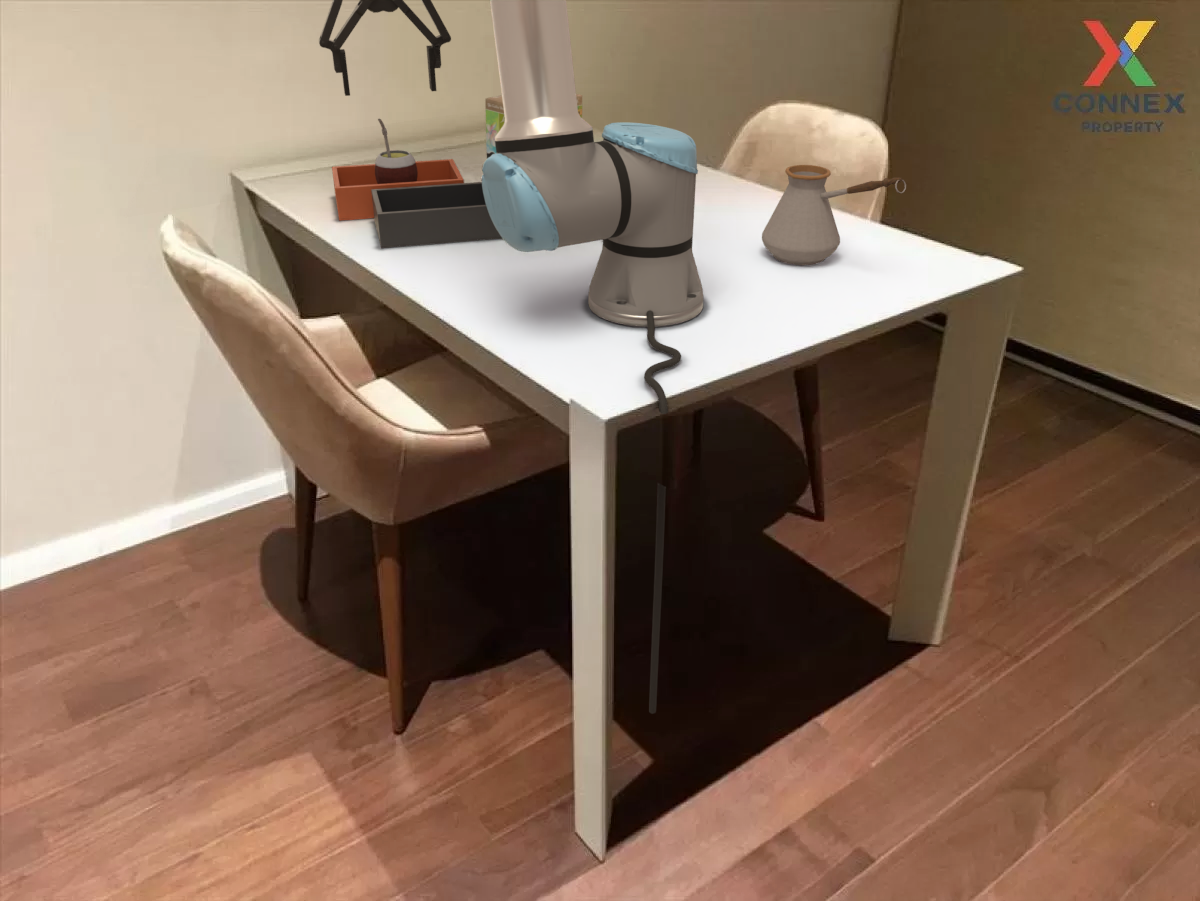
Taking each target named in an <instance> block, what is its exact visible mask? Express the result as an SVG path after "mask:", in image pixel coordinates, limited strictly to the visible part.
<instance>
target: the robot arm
mask: <svg viewBox="0 0 1200 901" xmlns="http://www.w3.org/2000/svg"><path fill="white" fill-rule="evenodd" d="M420 1H421V3H422V5H423V6H424V8H425V10H426V13H428V15H429V17H430V19H431V21H432V22H433V24H434V26H435V28H436V30H437V32H438V34H439V35H437V36H436V35H435V34H434V33H433V32H432V31H431V29H429V27H428V26H427V25H425V23H424V22H423V21H422V19H420V18H419V17H418V15H417V14H416V13H415V12H414V11H413V9H412V8H410V6H409V5H408V4H407V3H406V2H405V1H404V0H359V1H357V2H358V3H357V4H356V5H355V7H354V9H353V10H352V12H351V13H350V15H349V17H347V19H346V21H345V22H344V24H343V25H342V27H341V28H340V30H339V31H338V33H336V36H335V37H334V38H333V40H332V39H330V38H331V36H332V33H333V30H334V27H335V24H336V21H337V19H338V16H339V13H340V10H341V7H342V4H343V0H332V1H331V3H330V7H329V10H328V12H327V16H326V19H325V20H324V21H325V22H324V24H323V27H322V29H321V33H320V36H319V38H318V43H319V47H321V48H324V49H328V50H330V52H331V54H332V63H333V69H334V71H335V73H336V74H341V76H342V83H343V93H344V96H346V97H347V96H348V97H349V96H351V91H350V90H351V89H350V83H349V74H348V64H347V56H346V50H345V49H344V48H342V47H343V46H344V44H345V42H346V41H347V40H348V38H349V36H350V35H351V33H352V32H353V31H354V29H355V27H356V26H357V24H358V23H359V22H360V20H361V19H362V17H363V16H364V15H365V13H366V12H367V10H368V11H369V12H372V13H374V14H376V13H381V12H386V13H394V12H395V11H397V10H398V9H399V10H400V11H401V12H402V13H403V14H404V15H405V17H406V18H407V19H408V20H409V21H410V22H411V23H412V24H413V25H414V26H415V28H417V30H418V31H419V32H420V33H421V34H422V35H423V36H424V37H425V38H426V40H427V41H428V42H429V43H430V45H425V46H426V58H427V69H428V70H427V71H428V84H429V85H428V86H429V89H430V91H431V92H437V80H436V78H437V77H436V69H441V67H442V57H441V56H442V55H441V47H442V46H443V45H445V44H446V43H450V42H451V41H452V37H451V35H450V34H451V33H450V32H449V31H448V29H447V27H446V26H445V24H444V22H443V20H442V18H441V16H440V15H439V13H438V11H437V9H436V7H435V5H434V3H433V1H432V0H420ZM489 4H490V14H491V20H492V28H493V36H494V43H495V44H494V45H495V52H496V59H497V66H498V75H499V76H498V77H499V82H500V92H501V95H502V99H503V107H504V115H505V122H504V125H503V127H502V128H501V129H500V131H499V132H498V134H497V135H496V136H495V146H496V154H493V155H491V156H490V157H489V158H487V157H486V159H485V160H484V162H483V165H482V168H481V171H482V175H481V182H482V189H483V194H484V199H485V203H486V206H487V209H488V212H489V215H490V217H491V220H492V222H493V224H494V226H495V228H496V229H497V231H498V232H499V234H500V235H501V237H502V238H503V241H504V242H505V243H506V244H507V245H508V246H509V247H511V248H512V249H514V250H515V251H518V252H520V253H521V252H522V253H533V252H541V251H548V252H552V251H555V250H556V249H557V248H564V247H568V246H575V245H581V244H585V243H592V242H597V241H602V245H601V251H600V254H599V258H598V260H597V263H596V267H595V269H594V272H593V276H592V278H591V281H590V284H589V288H588V302H587V303H588V307H589V309H590V311H591V312H592V313H593V314H594V315H596V316H597V317H600V318H601V319H603V320H606V321H608V322H612V323H614V324H615V323H616V324H619V325H623V326H630V327H642V328H645V327H646V328H647V330H646V338H647V342H648V344H649V345H650V346H651V348H653V349H654V350H656V351H659V352H661V353H664V354H667V355H670V356H671V358H668V359H666V360H662V361H660V362H658V363H657V362H656V363H655V364H652V365H651V366H649V367H648V368H647V369H646V370H645V372H644V375H643V379H644V382H645V383H646V384H647V385H648V386H649V387H650V388H651V389H652V390H653V391H654V393H655V395H656V397H657V402H658V409H659V413H660V414H661V415H667V414H668V413H669V408H668V400H667V395H666V393H665V390H664V388H663V386H662V385H661V384H660V383H659V381H658V380H656V379H655V378H654V377H653V375H655V373H658V372H660V371H663V370H667V369H669V368H671V367H675V366H676V365H678V364H679V363H680V362H681V359H682V354H681V352H680V351H679V350H678V349H677V348H675V347H671V346H668V345H666V344H663V343H661V342H659V341H658V340H657V339H656V337H655V334H656V327H667V326H672V325H677V324H681V323H684V322H687V321H689V320H692V319H693V318H696V317H697V316H699V314H700V313H701V312H702V311H703V308H704V289H703V285H702V281H701V277H700V274H699V270H698V267H697V263H696V260H695V257H694V253H693V240H694V239H693V237H694V224H695V223H694V221H695V202H696V185H697V184H696V183H697V175H698V174H699V170H698V156H697V155H698V154H697V144H696V142H695V140H694V139H693V138H692V137H691V136H690V135H688V134H687V133H685V132H683V131H680V130H678V129H675V128H671V127H666V126H662V125H656V124H649V123H644V122H643V123H641V122H627V121H626V122H625V121H624V122H623V121H622V122H620V121H619V122H611V123H609V124H606V125H604V127H603V131H602V133H601V138H602V140H600V141H595V139H594V129H593V125H591V124H590V123H589V122H588V121H586V120H585V119H584V118H583V117H582V118H581V117H580V115H579V113H578V107H577V98H576V94H577V90H576V79H575V71H574V61H573V60H574V59H573V52H572V51H573V50H572V42H571V34H570V23H569V14H568V2H567V0H489ZM666 489H667V486H665V485H664V484H661V483H659V482H657V492H656V525H655V526H656V527H655V531H656V532H655V553H654V578H653V601H652V627H651V649H650V674H649V675H650V676H649V699H648V712H649V713H650V714H651V715H653V714H656V713H657V697H658V678H659V676H658V673H659V657H660V656H659V654H660V633H661V632H660V631H661V612H662V611H661V610H662V591H663V572H664V571H663V570H664V569H663V567H664V547H665V546H664V545H665V521H666Z"/></svg>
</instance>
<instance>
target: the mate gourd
mask: <svg viewBox="0 0 1200 901" xmlns="http://www.w3.org/2000/svg"><path fill="white" fill-rule="evenodd" d="M377 121H378V123H379V125H380V126H381V133H382V136H383V140H384V145H385V151H382V152H380V153H379V154H378V155H377V157H376V159H375V162H374V164H375V177H376V181H377V184H387V183H402V182H417V175H418V171H417V165H416V162H415V161H416V159H415V158H414V156H413V155H412V153H411V152H409V151H407V150H400V149H395V150H394V149H393V150H392V149H391V150H390V144H389V138H388V130H387V128H386V126H385V124H384V122H383V120H382V119H381V118H377Z"/></svg>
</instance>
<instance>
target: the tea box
mask: <svg viewBox="0 0 1200 901" xmlns="http://www.w3.org/2000/svg"><path fill="white" fill-rule="evenodd" d="M576 98H577V107H578V113H579V115H580V117H581V118H582V119H583V95H582V94H579V93H576ZM484 101H485V102H484V104H485V106H484V107H485V145H486V146H485V148H486V149H485V150H486V151H485V152H486V159H487V158H489V157H490V156H491V155H493V154H496V146H495V136H496V135H497V134H498V132H499V131H500V129H501V128H502V127H503V125H504V122H505V115H504V107H503V99H502V94H501V95H496V96H491V97H486V98H485V100H484Z"/></svg>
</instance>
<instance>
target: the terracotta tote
mask: <svg viewBox="0 0 1200 901" xmlns="http://www.w3.org/2000/svg"><path fill="white" fill-rule="evenodd" d="M415 162H416V165H417V171H418V175H417V182H402V183H387V184H377V181H376V177H375V163H370V164H369V163H368V164H352V165H337V166H331V172H332V179H333V180H332V181H333V187H334V188H333V189H334V195H335V202H336V209H337V215H338V221H353V220H354V221H355V220H365V219H374V212H373V202H372V193H371V189H385V188H399V187H414V186H429V185H443V184H458V183H465V179H464V178H463V176H462V174H461V172H460V169H459V168H458V166H457V164H456V163H455V161H454V159H453V158H448V159H431V160H418V161H417V160H415Z"/></svg>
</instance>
